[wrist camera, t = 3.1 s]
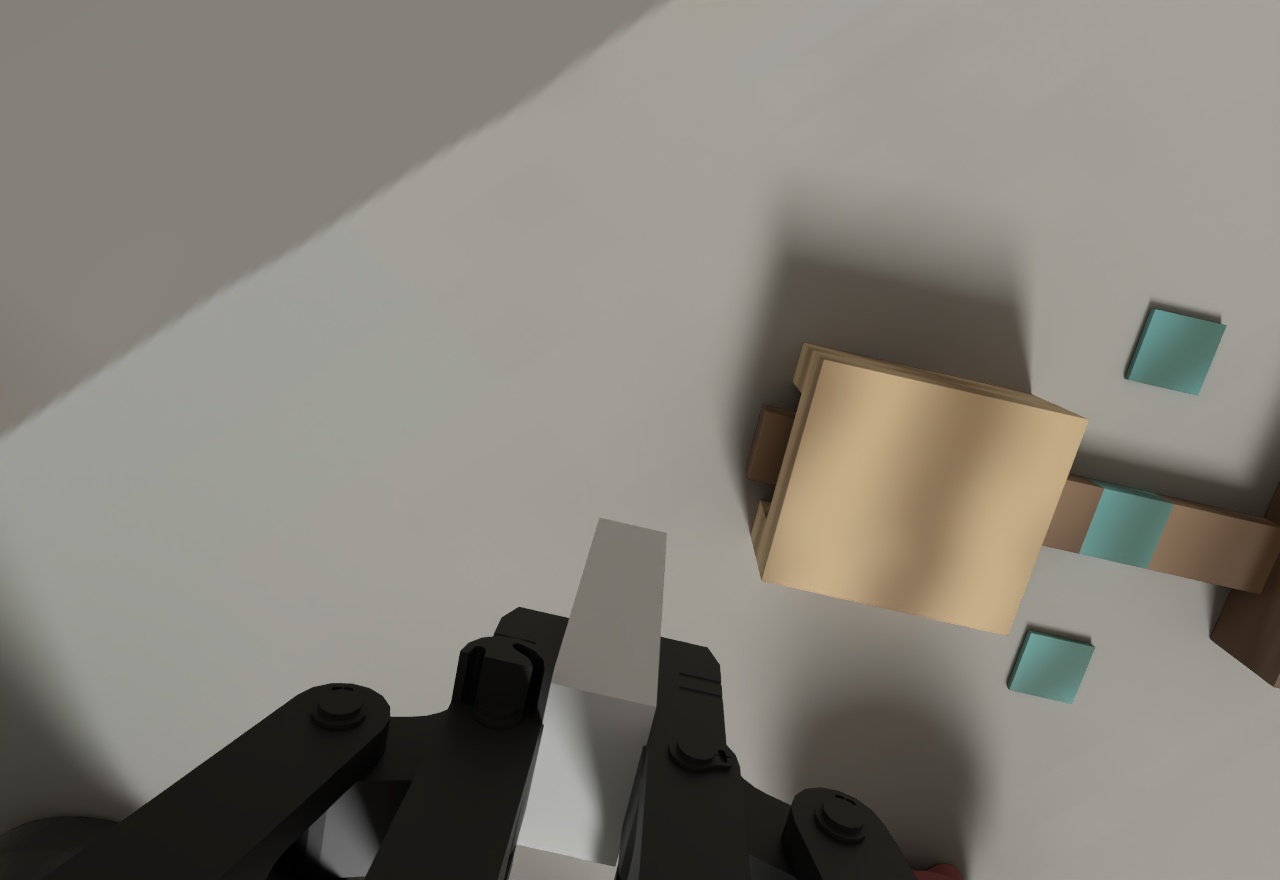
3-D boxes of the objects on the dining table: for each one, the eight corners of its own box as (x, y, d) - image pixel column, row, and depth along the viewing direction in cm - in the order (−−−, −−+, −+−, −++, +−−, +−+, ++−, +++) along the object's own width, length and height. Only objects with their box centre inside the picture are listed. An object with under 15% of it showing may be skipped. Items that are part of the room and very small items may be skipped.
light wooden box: (750, 534, 36) (761, 580, 31) (803, 341, 34) (824, 359, 29) (964, 582, 36) (1007, 636, 31) (1030, 393, 34) (1088, 419, 29)
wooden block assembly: (705, 619, 37) (709, 663, 33) (809, 230, 33) (826, 229, 29) (1213, 732, 37) (1275, 789, 34) (1385, 361, 33) (1479, 378, 29)
